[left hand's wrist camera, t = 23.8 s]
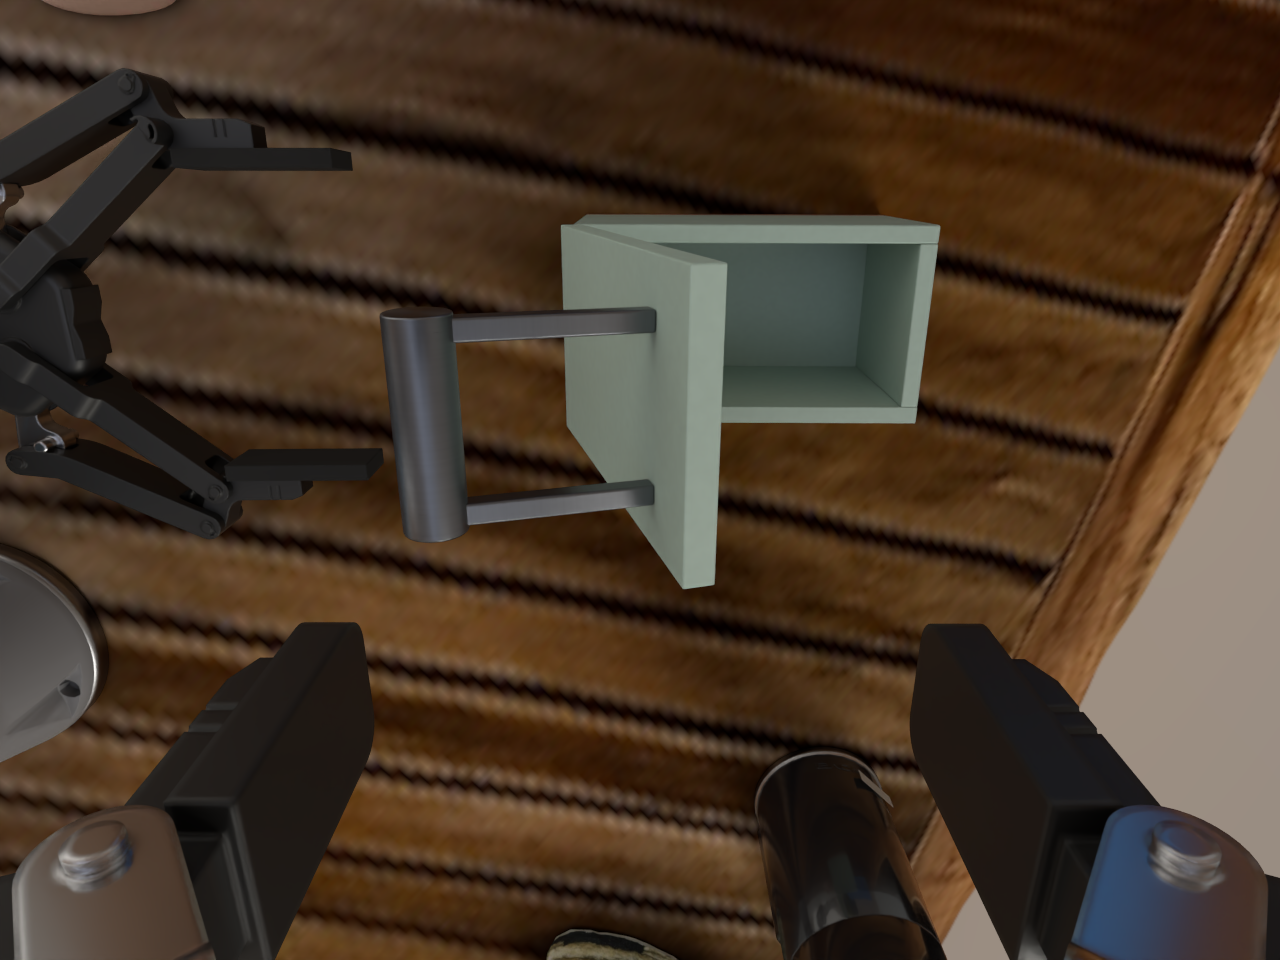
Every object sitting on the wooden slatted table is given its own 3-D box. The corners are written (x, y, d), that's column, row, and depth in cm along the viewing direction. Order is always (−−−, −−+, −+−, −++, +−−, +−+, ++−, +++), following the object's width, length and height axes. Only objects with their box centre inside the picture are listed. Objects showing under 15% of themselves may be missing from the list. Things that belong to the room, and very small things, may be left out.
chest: (880, 214, 46) (941, 224, 36) (863, 376, 49) (915, 423, 40) (586, 213, 46) (572, 223, 36) (589, 376, 49) (577, 422, 40)
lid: (728, 262, 21) (370, 272, 18) (715, 585, 24) (411, 628, 22) (583, 224, 36) (378, 227, 34) (587, 424, 39) (400, 439, 37)
